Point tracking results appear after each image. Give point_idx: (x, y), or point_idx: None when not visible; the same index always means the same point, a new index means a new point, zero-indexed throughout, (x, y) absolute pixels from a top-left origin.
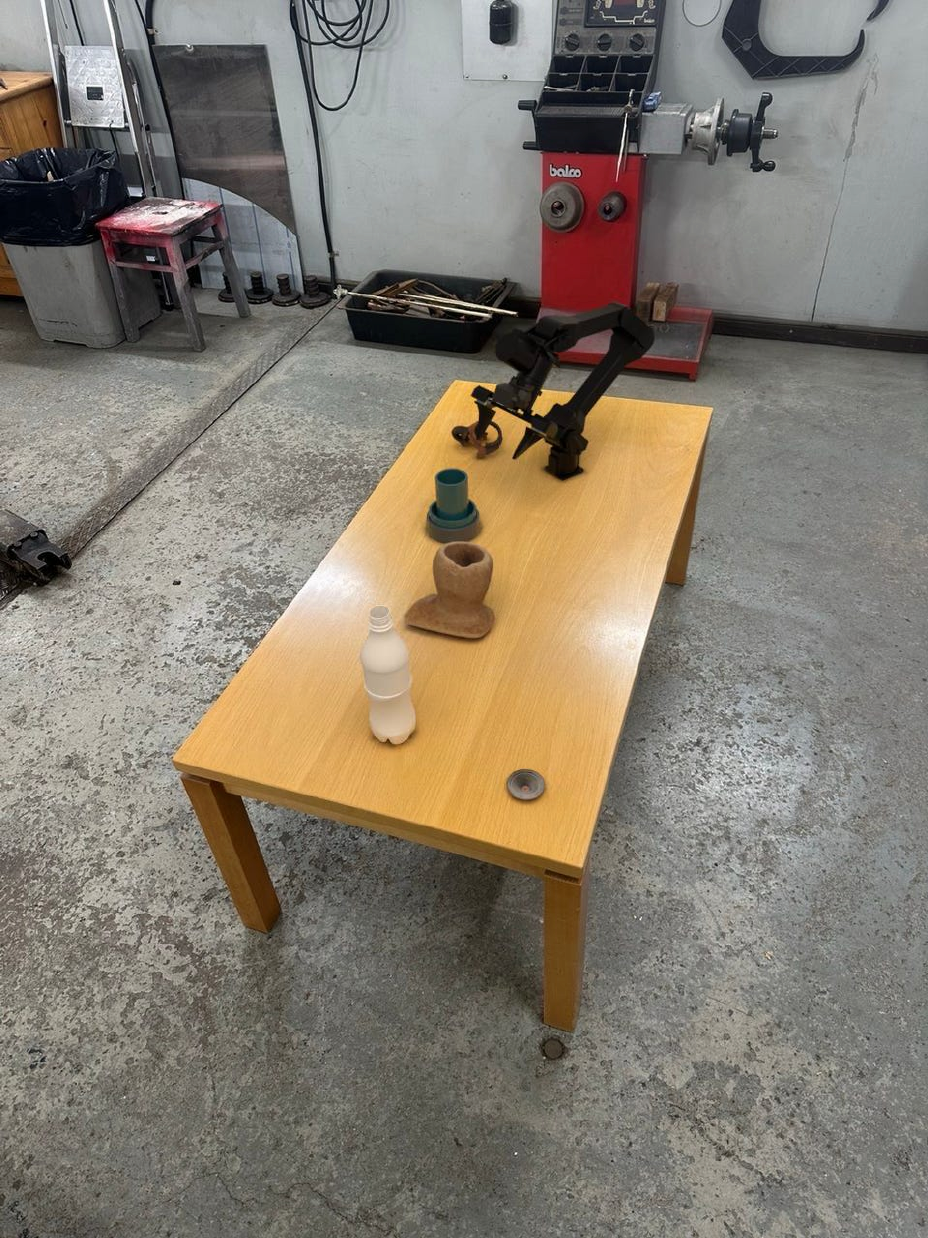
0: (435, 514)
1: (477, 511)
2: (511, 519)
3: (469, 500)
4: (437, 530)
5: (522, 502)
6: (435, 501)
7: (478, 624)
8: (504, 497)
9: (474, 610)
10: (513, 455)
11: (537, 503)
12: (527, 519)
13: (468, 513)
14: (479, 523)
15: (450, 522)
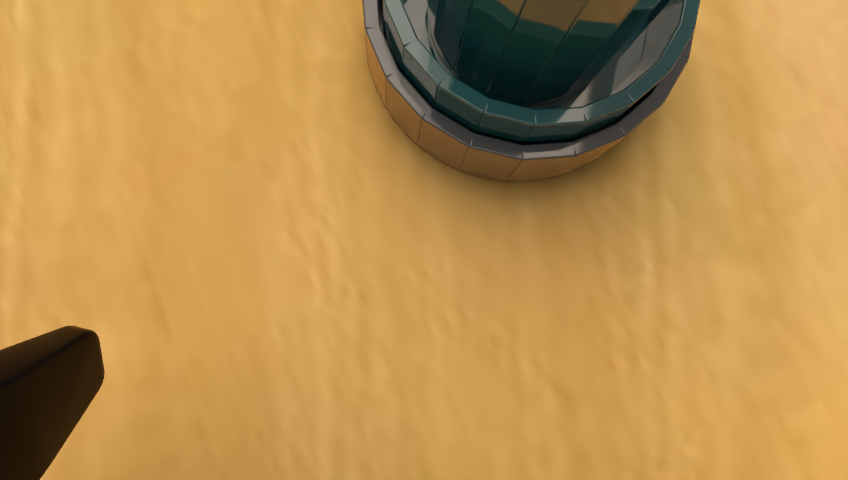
0: (648, 28)
1: (401, 84)
2: (235, 243)
3: (478, 96)
4: None
5: (235, 447)
6: (691, 4)
7: None
8: (364, 458)
9: None
10: (58, 343)
11: (138, 473)
12: (142, 279)
13: (434, 3)
14: (384, 101)
15: None
